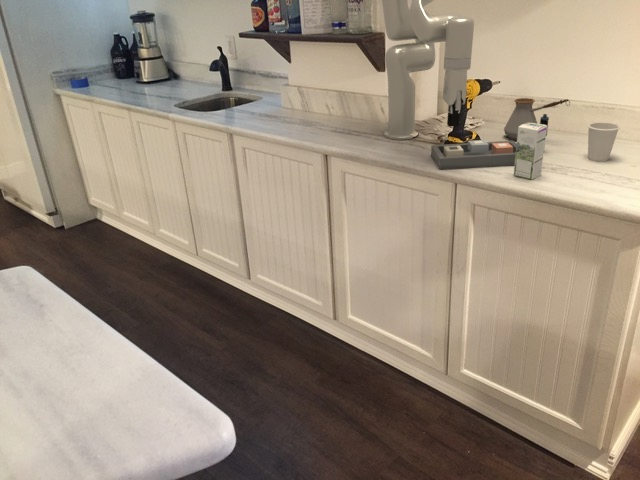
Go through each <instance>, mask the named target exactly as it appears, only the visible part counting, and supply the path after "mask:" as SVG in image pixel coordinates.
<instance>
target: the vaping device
mask: <svg viewBox="0 0 640 480" xmlns="http://www.w3.org/2000/svg"><path fill="white" fill-rule="evenodd" d="M539 121H540V122H539V124H542V125H547V129H548V127H549V116H548V114H547V113H544V114H543V115H542V116H541V117H540V120H539ZM547 136H548V130H547V131H546V137H547ZM545 147H546V145H545V146H544V148H545Z"/></svg>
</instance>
